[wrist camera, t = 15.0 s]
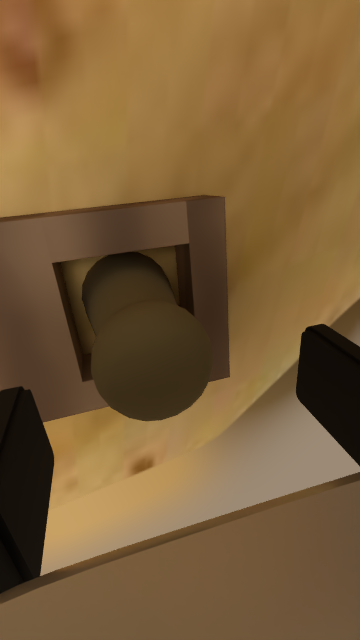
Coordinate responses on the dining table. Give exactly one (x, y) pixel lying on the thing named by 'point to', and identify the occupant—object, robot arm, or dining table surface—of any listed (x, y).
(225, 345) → the socket board
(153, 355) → the olive peg
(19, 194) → the dining table surface
